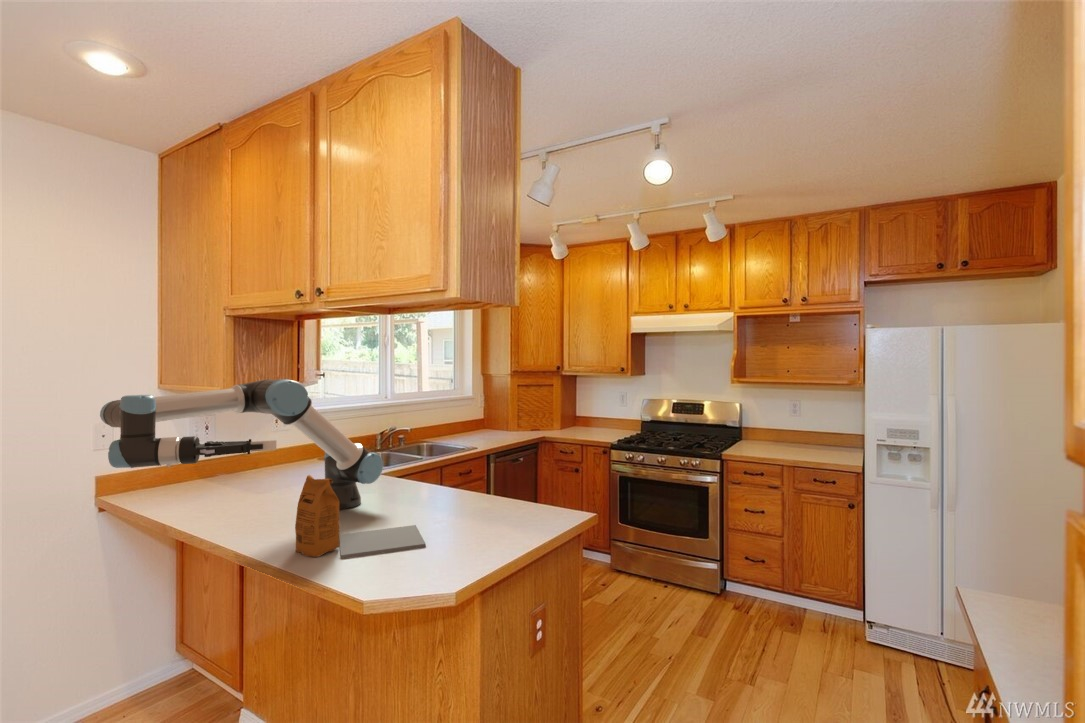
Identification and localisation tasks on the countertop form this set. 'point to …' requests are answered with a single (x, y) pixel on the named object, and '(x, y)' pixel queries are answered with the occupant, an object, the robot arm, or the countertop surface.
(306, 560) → the countertop surface
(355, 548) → the topple mat
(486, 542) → the countertop surface
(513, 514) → the countertop surface
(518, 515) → the countertop surface
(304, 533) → the coffee package
